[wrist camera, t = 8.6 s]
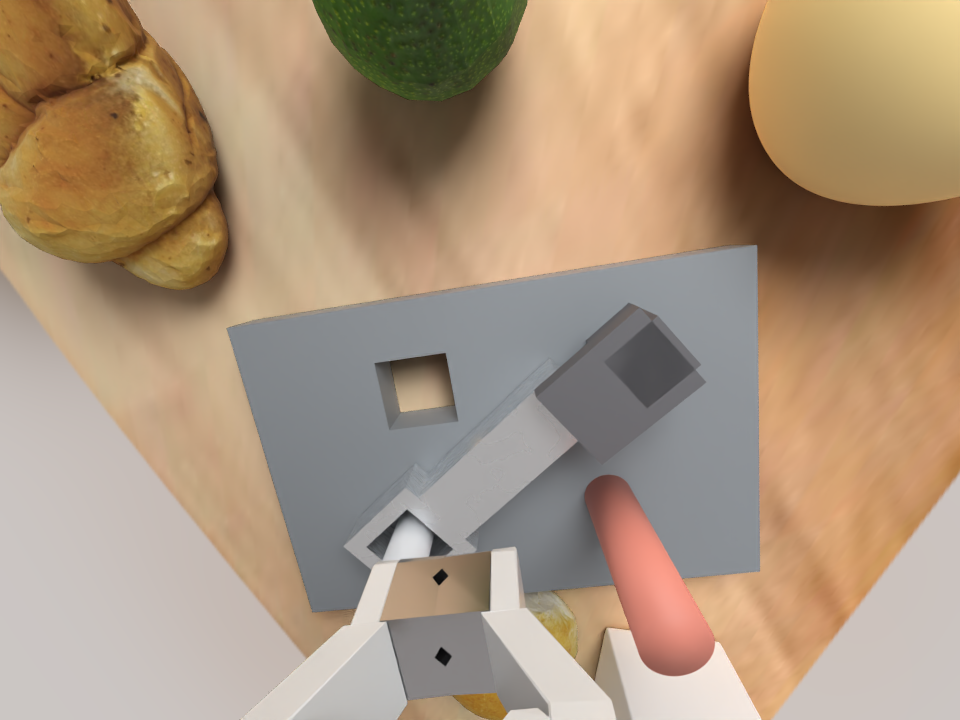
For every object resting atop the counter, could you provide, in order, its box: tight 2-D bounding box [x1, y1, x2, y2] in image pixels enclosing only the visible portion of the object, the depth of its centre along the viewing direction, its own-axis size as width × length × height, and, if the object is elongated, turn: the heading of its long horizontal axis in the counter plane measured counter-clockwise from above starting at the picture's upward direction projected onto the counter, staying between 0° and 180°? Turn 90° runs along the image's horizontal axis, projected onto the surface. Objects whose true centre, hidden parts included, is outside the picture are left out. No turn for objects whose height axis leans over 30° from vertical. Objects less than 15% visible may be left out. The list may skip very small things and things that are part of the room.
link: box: [343, 357, 578, 570], centre depth 22 cm, size 13×5×2 cm, turn 136°
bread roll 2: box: [452, 591, 578, 720], centre depth 27 cm, size 8×9×4 cm
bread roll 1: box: [0, 0, 228, 290], centre depth 19 cm, size 13×10×8 cm
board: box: [227, 245, 760, 612], centre depth 22 cm, size 17×25×7 cm
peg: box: [585, 475, 715, 676], centre depth 18 cm, size 2×2×9 cm
